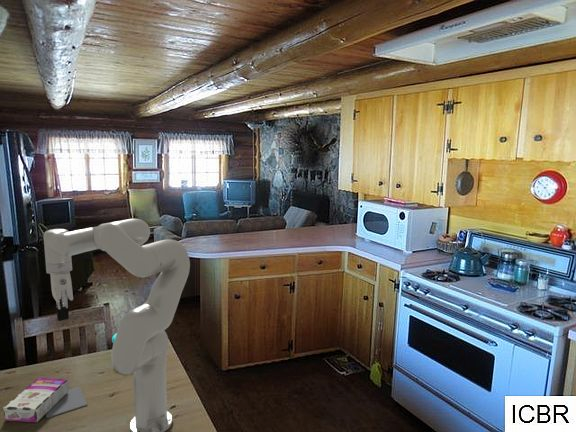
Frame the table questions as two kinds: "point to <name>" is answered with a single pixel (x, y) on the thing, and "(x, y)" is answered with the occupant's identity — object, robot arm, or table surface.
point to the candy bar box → (36, 400)
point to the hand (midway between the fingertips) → (63, 319)
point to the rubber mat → (68, 402)
